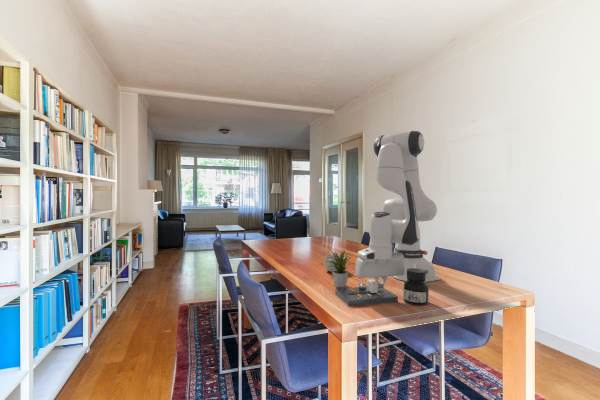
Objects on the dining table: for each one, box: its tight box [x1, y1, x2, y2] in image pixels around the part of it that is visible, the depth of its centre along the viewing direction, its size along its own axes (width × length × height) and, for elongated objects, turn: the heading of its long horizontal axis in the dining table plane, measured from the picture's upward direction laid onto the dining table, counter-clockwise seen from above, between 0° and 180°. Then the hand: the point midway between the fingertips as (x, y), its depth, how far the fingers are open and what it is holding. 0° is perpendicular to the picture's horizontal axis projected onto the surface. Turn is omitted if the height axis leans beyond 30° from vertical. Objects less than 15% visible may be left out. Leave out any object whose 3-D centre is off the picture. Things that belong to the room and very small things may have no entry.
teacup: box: [324, 253, 345, 273], centre depth 157 cm, size 14×11×8 cm
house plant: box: [326, 249, 354, 288], centre depth 135 cm, size 14×14×16 cm
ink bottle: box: [402, 268, 430, 306], centre depth 114 cm, size 10×9×12 cm
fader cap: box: [366, 279, 379, 293], centre depth 119 cm, size 2×4×4 cm, turn 13°
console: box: [334, 282, 399, 307], centre depth 118 cm, size 20×14×4 cm
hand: (379, 287), depth 119 cm, fingers closed
